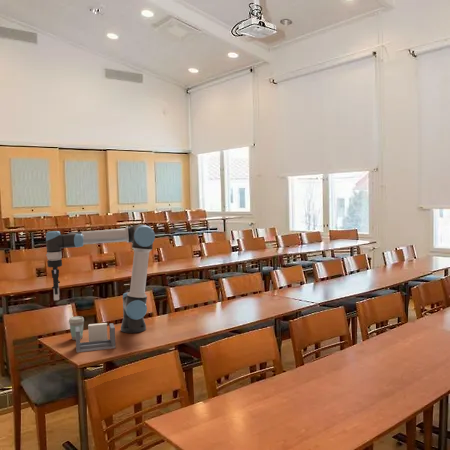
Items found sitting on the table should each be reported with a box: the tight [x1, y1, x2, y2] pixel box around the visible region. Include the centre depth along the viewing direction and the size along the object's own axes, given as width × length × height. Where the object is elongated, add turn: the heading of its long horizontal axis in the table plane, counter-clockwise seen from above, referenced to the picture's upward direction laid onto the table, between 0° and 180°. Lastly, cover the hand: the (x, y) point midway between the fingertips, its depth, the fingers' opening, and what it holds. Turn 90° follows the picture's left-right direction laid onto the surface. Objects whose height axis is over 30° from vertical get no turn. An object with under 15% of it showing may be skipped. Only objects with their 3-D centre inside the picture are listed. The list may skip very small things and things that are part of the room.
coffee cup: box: [68, 315, 85, 341], centre depth 277 cm, size 9×8×12 cm
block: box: [87, 322, 109, 342], centre depth 270 cm, size 10×3×10 cm, turn 109°
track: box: [75, 323, 116, 353], centre depth 260 cm, size 20×10×11 cm, turn 109°
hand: (56, 297), depth 266 cm, fingers open, 13 cm apart
